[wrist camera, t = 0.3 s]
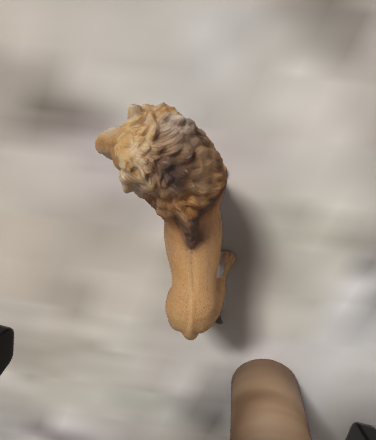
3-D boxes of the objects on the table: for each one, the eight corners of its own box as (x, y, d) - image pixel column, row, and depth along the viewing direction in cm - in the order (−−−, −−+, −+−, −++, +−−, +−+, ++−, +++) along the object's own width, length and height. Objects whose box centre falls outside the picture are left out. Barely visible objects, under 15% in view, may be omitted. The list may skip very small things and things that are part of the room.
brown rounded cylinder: (287, 420, 24) (303, 509, 18) (225, 402, 24) (221, 483, 19) (306, 369, 22) (330, 449, 17) (240, 351, 23) (241, 423, 17)
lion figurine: (134, 124, 20) (55, 116, 11) (215, 102, 19) (198, 74, 10) (188, 322, 23) (159, 434, 14) (259, 314, 22) (274, 429, 13)
